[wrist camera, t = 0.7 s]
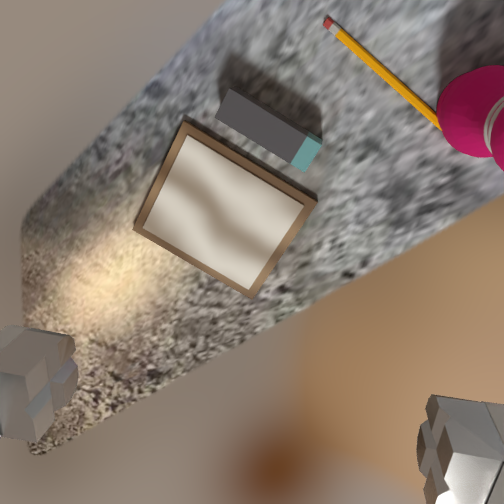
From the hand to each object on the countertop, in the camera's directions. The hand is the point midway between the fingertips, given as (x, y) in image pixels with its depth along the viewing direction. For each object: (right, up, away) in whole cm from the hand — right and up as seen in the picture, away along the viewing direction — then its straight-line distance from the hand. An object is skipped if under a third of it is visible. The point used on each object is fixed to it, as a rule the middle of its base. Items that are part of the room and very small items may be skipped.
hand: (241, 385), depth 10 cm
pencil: (+14, +18, +31) cm, 39 cm away
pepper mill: (+20, +16, +31) cm, 40 cm away
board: (-3, +7, +39) cm, 40 cm away
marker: (+2, +16, +34) cm, 38 cm away
